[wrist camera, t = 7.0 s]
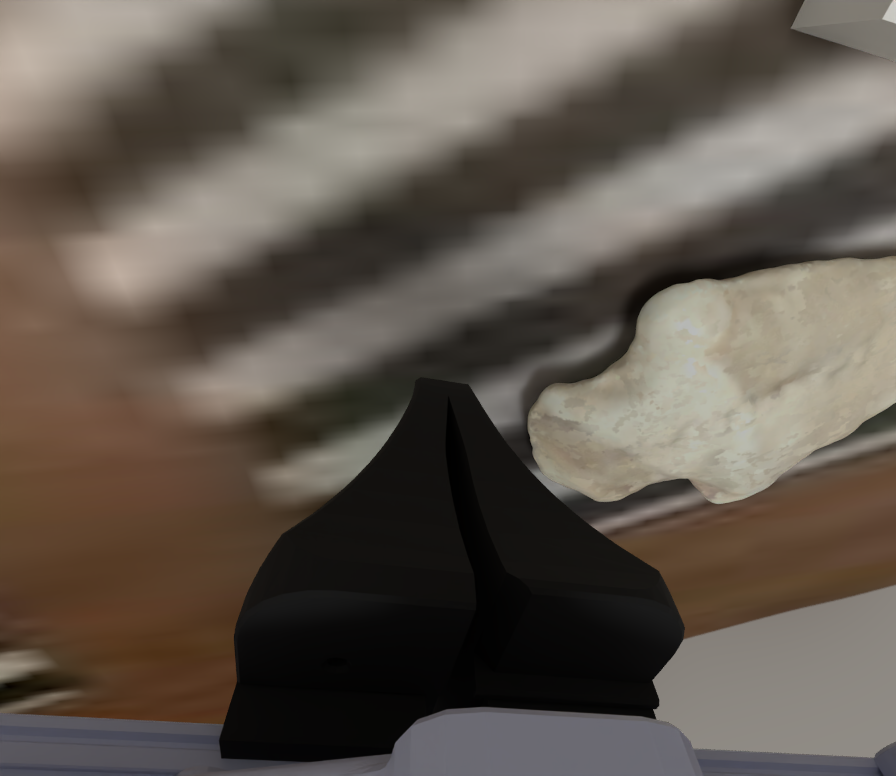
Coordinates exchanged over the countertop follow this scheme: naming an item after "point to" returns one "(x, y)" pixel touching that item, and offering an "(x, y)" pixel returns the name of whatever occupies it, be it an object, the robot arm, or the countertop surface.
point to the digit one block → (852, 24)
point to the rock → (728, 382)
